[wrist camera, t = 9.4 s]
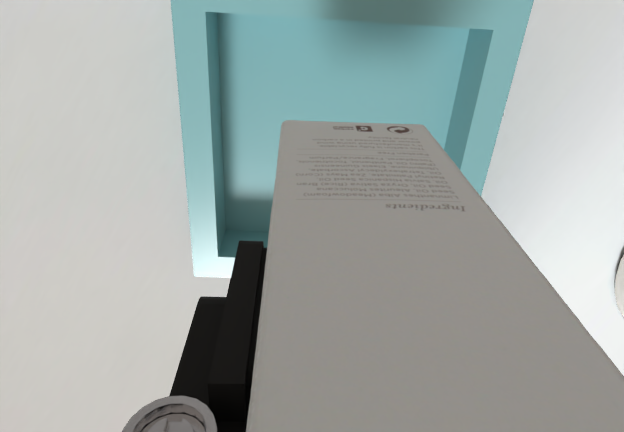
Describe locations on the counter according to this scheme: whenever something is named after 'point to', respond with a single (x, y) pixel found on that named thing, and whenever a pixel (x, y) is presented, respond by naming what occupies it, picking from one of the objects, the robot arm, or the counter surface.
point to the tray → (327, 91)
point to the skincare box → (409, 301)
